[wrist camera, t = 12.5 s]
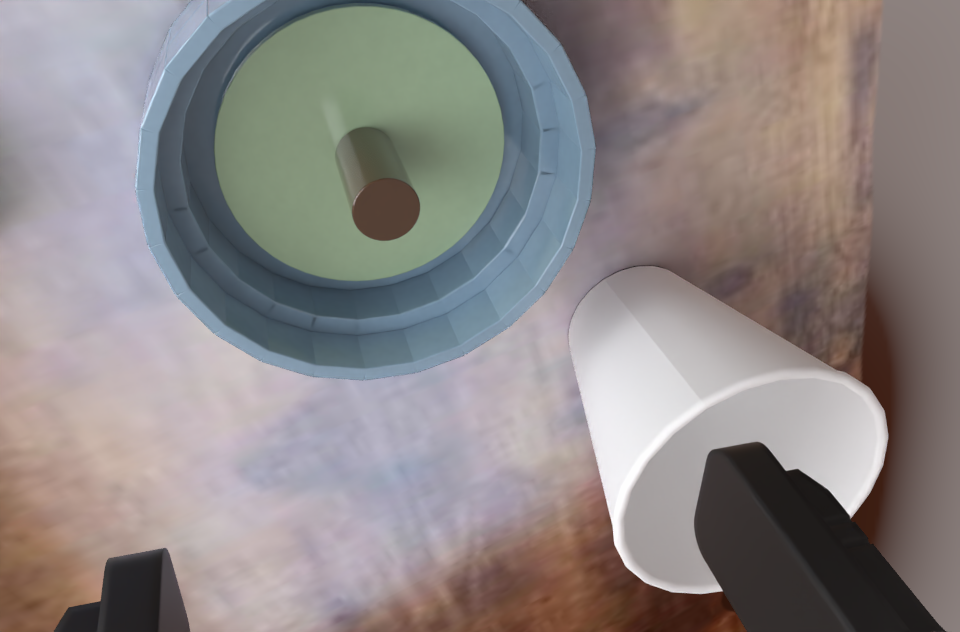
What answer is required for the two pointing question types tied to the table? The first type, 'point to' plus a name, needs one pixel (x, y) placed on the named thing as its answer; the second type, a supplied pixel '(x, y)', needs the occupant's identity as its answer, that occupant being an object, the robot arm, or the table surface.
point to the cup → (704, 413)
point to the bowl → (388, 301)
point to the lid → (358, 142)
